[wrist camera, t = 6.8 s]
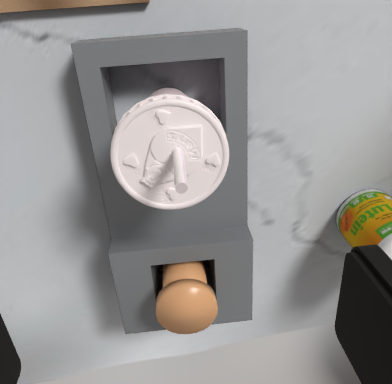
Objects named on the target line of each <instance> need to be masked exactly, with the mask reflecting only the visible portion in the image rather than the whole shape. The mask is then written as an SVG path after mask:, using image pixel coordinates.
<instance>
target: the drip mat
mask: <svg viewBox="0 0 392 384" xmlns="http://www.w3.org/2000/svg"><path fill="white" fill-rule="evenodd" d="M144 2H149V0H0V13H6V12H20V11H34V10H48V9H62V8H75V7H89V6H103V5H117V4H131V3H144Z"/></svg>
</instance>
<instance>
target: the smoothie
mask: <svg viewBox="0 0 392 384" xmlns="http://www.w3.org/2000/svg"><path fill="white" fill-rule="evenodd" d="M228 163H229V146H228V141H227V138H226V134H225V131H224V129H223V127H222V124H221V122H220V121H219V119H218V118H217V117H216V116H215V115H214V113H213V112H212V111H211V110H210V109H209V108H207V107H206V106H204V105H203V104H202V103H200V102H199V101H197V100H194V99H191V98H189V97H187V96H186V95H185V94H184V93H183V92H181V91H180V90H178V89H175V88H170V87H166V88H161V89H158V90H156V91H154V92H153V93H152V94H151V95H150V96H149V97H148V98H147V99H145V100H143V101H141V102H139V103H137V104H135V105H134V106H133V107H132V108H130V109H129V110H128V111H127V112H126V113H125V114H124V115H123V116H122V118H121V120H120V121H119V123H118V124H117V126H116V127H115V131H114V134H113V138H112V141H111V164H112V168H113V172H114V174H115V176H116V179H117V180H118V182H119V184H120V185H121V186H122V188H123V189H124V190H125V191H126V192H127V193H128V194H129V195H130V196H131V197H133V198H134V199H136V200H137V201H139V202H141V203H143V204H145V205H147V206H150V207H153V208H158V209H165V210H175V209H182V208H186V207H190V206H192V205H195V204H197V203H199V202H201V201H203V200H204V199H206V198H207V197H208V196H210V195H211V194H212V193H213V192H214V191H215V190H216V189H217V187H218V186H219V185H220V183H221V182H222V180H223V178H224V176H225V173H226V171H227V167H228Z"/></svg>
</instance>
